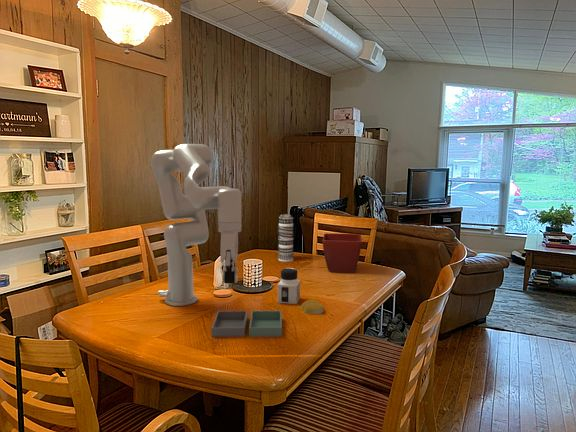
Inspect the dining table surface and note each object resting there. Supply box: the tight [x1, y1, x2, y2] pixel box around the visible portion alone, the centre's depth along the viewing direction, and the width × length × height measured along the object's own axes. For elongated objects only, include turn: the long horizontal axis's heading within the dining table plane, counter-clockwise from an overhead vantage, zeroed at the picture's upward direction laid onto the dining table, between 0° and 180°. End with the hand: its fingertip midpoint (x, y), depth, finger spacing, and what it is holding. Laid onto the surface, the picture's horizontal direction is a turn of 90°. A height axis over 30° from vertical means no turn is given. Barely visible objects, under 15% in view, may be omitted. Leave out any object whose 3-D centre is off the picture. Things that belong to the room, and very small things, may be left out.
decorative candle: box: [277, 213, 295, 263], centre depth 239 cm, size 9×9×25 cm
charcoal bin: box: [210, 310, 249, 338], centre depth 147 cm, size 10×15×4 cm
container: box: [277, 267, 301, 305], centre depth 175 cm, size 8×8×13 cm
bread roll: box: [300, 299, 325, 315], centre depth 164 cm, size 8×9×4 cm
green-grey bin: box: [248, 310, 283, 338], centre depth 147 cm, size 10×15×4 cm
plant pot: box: [321, 233, 363, 274], centre depth 221 cm, size 19×19×17 cm
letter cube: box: [222, 265, 239, 284], centre depth 145 cm, size 4×4×4 cm
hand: (230, 280), depth 145 cm, fingers closed on letter cube, 4 cm apart
